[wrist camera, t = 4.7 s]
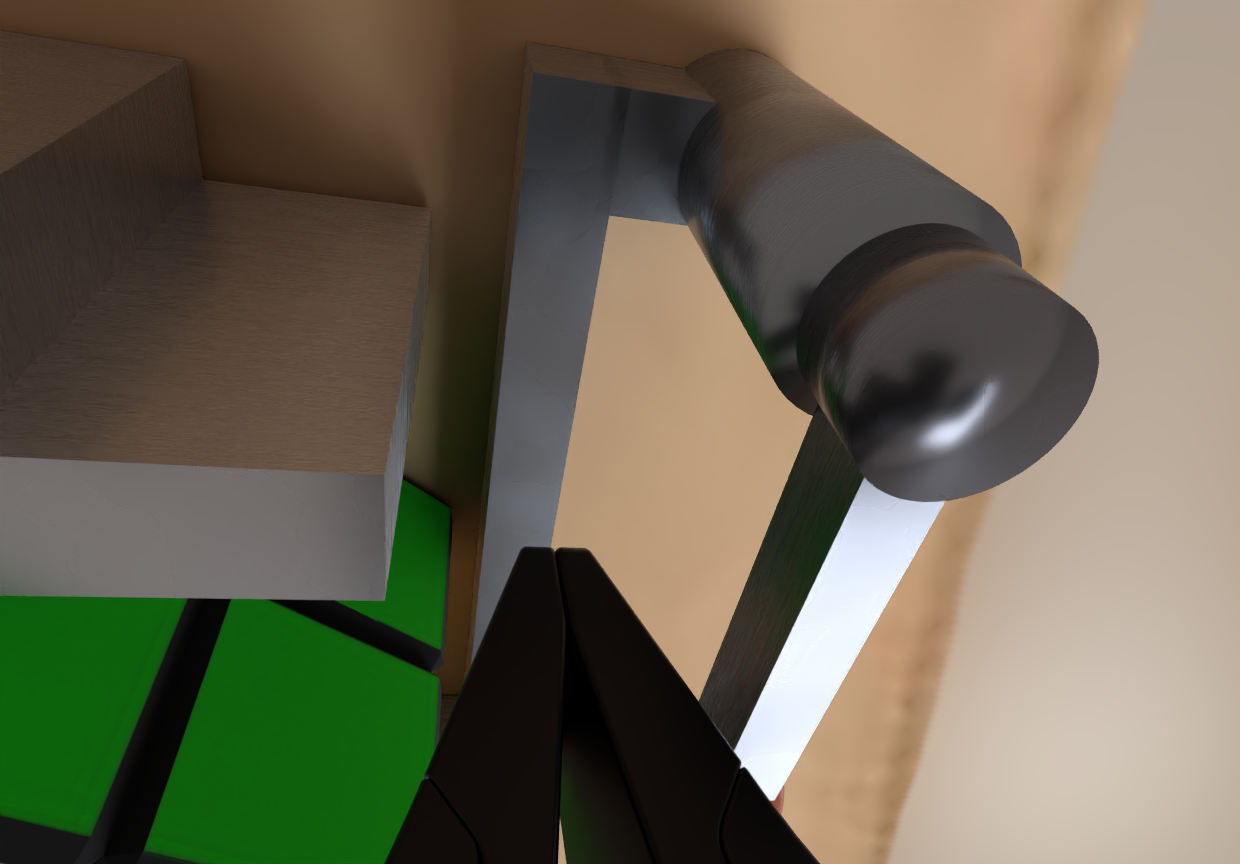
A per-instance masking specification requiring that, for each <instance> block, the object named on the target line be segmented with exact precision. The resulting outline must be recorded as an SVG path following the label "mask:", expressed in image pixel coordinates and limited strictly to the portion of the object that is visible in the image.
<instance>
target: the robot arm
mask: <svg viewBox="0 0 1240 864" xmlns="http://www.w3.org/2000/svg"><path fill="white" fill-rule="evenodd" d="M741 764H742V762H741V760H740V759H739V757H738V756H737V754H736V753H735V752H734V750H733V749H732V748H731V746H730V745H729V743H728V742H727V741H726V739H725V738H724V736H723V735H722V734H721V732H720V731H719V729H718V728H717V727H716V725H715V724H714V722H713V721H712V720H711V718H710V717H709V716H708V714H707V713H706V711H705V710H704V709H703V707H702V706H701V704H700V703H699V702H698V700H697V699H696V697H695V696H694V695H693V693H692V692H691V690H690V689H689V688H688V686H687V685H686V684H685V682H684V681H683V679H682V678H681V677H680V675H679V674H678V672H677V671H676V670H675V668H674V667H673V665H672V664H671V663H670V661H669V660H668V658H667V657H666V656H665V654H664V653H663V652H662V650H661V649H660V647H659V646H658V645H657V643H656V642H655V640H654V639H653V638H652V636H651V635H650V633H649V632H648V631H647V629H646V628H645V626H644V625H643V624H642V622H641V621H640V620H639V618H638V617H637V615H636V614H635V613H634V611H633V610H632V608H631V607H630V606H629V604H628V603H627V601H626V600H625V599H624V597H623V596H622V594H621V593H620V592H619V590H618V589H617V588H616V586H615V585H614V583H613V582H612V581H611V579H610V578H609V576H608V575H607V574H606V572H605V571H604V569H603V568H602V567H601V565H600V564H599V562H598V561H597V560H596V558H595V557H594V556H593V554H592V553H591V552H590V551H589V550H588V549H586V548H566V547H561V548H558V549H557V550H556V551H554V549H553V548H551V547H531V546H526V547H523V548H522V549H521V550H520V552H519V554H518V556H517V559H516V561H515V563H514V566H513V568H512V570H511V573H510V575H509V577H508V580H507V582H506V584H505V587H504V589H503V592H502V594H501V596H500V599H499V601H498V603H497V606H496V608H495V610H494V613H493V615H492V617H491V620H490V622H489V624H488V627H487V629H486V631H485V634H484V636H483V639H482V641H481V643H480V646H479V648H478V650H477V653H476V655H475V657H474V660H473V662H472V664H471V667H470V669H469V671H468V674H467V676H466V678H465V681H464V683H463V685H462V688H461V690H460V692H459V695H458V697H457V700H456V702H455V704H454V707H453V709H452V711H451V714H450V716H449V718H448V721H447V723H446V725H445V728H444V730H443V732H442V735H441V737H440V739H439V742H438V744H437V746H436V749H435V751H434V754H433V756H432V758H431V761H430V763H429V765H428V768H427V770H426V772H425V779H423V780H422V781H421V783H420V785H419V788H418V790H417V792H416V795H415V797H414V799H413V802H412V804H411V806H410V809H409V811H408V813H407V815H406V818H405V820H404V822H403V824H402V826H401V828H400V831H399V833H398V835H397V837H396V839H395V841H394V843H393V846H392V848H391V850H390V852H389V854H388V856H387V858H386V861H385V863H384V864H558V849H559V824H560V819H561V826H562V834H563V841H564V848H565V856H566V863H567V864H820V863H819V862H818V861H817V859H816V858H815V857H814V856H813V855H812V853H811V852H810V851H809V850H808V849H807V847H806V846H805V845H804V844H803V843H802V841H801V840H800V839H799V838H798V837H797V835H796V834H795V833H794V832H793V830H792V829H791V828H790V826H789V825H788V824H787V822H786V821H785V820H784V818H783V817H782V816H781V814H780V813H779V812H778V810H777V809H776V808H775V806H774V805H773V804H772V802H771V801H770V800H769V799H768V797H767V796H766V795H765V793H764V792H763V790H762V789H761V788H760V786H759V785H758V783H757V782H756V781H755V779H754V778H753V776H752V775H751V774H750V772H749V771H748V769H747V768H746V767H742V768H741ZM740 768H741V769H740Z"/></svg>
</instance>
